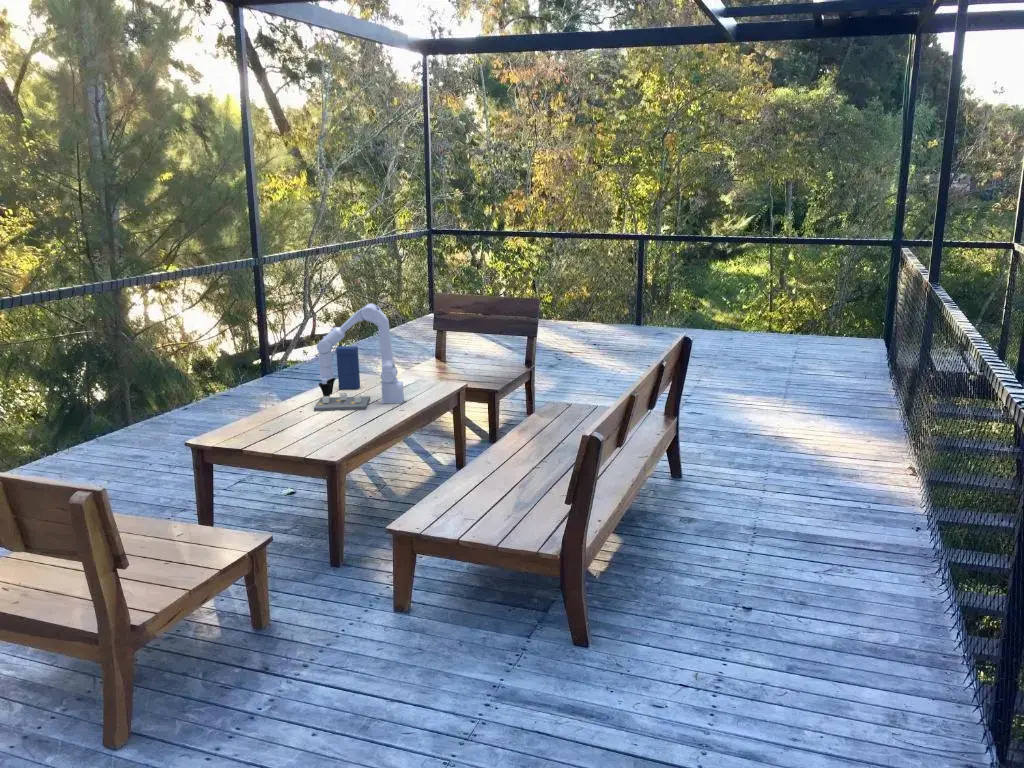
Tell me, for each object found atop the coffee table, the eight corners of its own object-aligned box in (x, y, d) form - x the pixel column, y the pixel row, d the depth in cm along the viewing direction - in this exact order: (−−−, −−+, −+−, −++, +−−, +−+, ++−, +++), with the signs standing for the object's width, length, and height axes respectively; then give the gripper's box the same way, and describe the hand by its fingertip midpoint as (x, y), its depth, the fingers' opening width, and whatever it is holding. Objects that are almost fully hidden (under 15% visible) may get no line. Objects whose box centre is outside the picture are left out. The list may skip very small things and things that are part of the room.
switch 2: (347, 398, 392) (346, 392, 391) (346, 400, 389) (345, 394, 388) (341, 398, 392) (340, 392, 391) (340, 400, 389) (339, 394, 388)
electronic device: (360, 387, 421) (358, 345, 417) (358, 389, 416) (355, 347, 412) (341, 387, 422) (338, 345, 418) (338, 389, 417) (335, 348, 413)
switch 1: (329, 401, 388) (329, 395, 387) (328, 403, 385) (328, 396, 384) (323, 401, 388) (323, 395, 387) (322, 403, 385) (322, 397, 384)
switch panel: (370, 399, 397) (370, 396, 397) (365, 409, 380) (365, 406, 379) (321, 401, 396) (320, 397, 396) (314, 411, 379) (313, 407, 379)
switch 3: (361, 400, 387) (361, 394, 387) (360, 402, 384) (360, 396, 384) (355, 401, 387) (355, 394, 387) (354, 402, 384) (354, 396, 384)
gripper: (319, 363, 396) (322, 392, 399) (313, 370, 382) (316, 400, 385) (335, 362, 396) (337, 392, 399) (330, 369, 382) (332, 400, 385)
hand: (328, 396), depth 392 cm, fingers open, 7 cm apart
